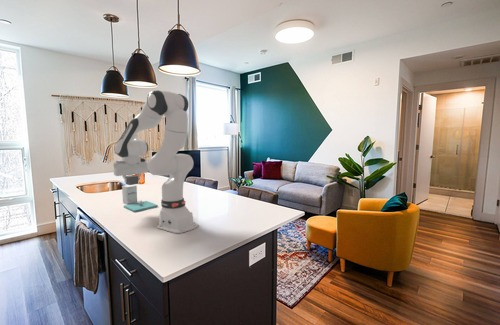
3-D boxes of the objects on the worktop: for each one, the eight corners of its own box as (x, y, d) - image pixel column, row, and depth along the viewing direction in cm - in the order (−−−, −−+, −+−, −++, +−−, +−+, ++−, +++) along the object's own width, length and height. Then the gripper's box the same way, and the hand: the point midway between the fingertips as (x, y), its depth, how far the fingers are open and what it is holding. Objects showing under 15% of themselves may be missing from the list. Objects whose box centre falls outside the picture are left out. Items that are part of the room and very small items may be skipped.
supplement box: (127, 204, 166) (126, 187, 165) (122, 202, 171) (121, 185, 170) (137, 202, 172) (136, 185, 171) (132, 200, 177) (131, 184, 175)
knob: (138, 183, 150) (138, 175, 150) (129, 185, 146) (129, 176, 145) (134, 182, 154) (134, 174, 153) (125, 183, 150) (125, 175, 149)
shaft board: (157, 206, 162) (157, 200, 161) (134, 212, 150) (133, 205, 149) (146, 202, 172) (146, 196, 171) (123, 207, 160) (123, 201, 159)
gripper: (115, 161, 138) (116, 184, 140) (148, 159, 154) (149, 179, 156) (111, 160, 142) (112, 182, 144) (144, 158, 158) (144, 178, 159)
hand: (132, 181), depth 150 cm, fingers closed on knob, 6 cm apart
